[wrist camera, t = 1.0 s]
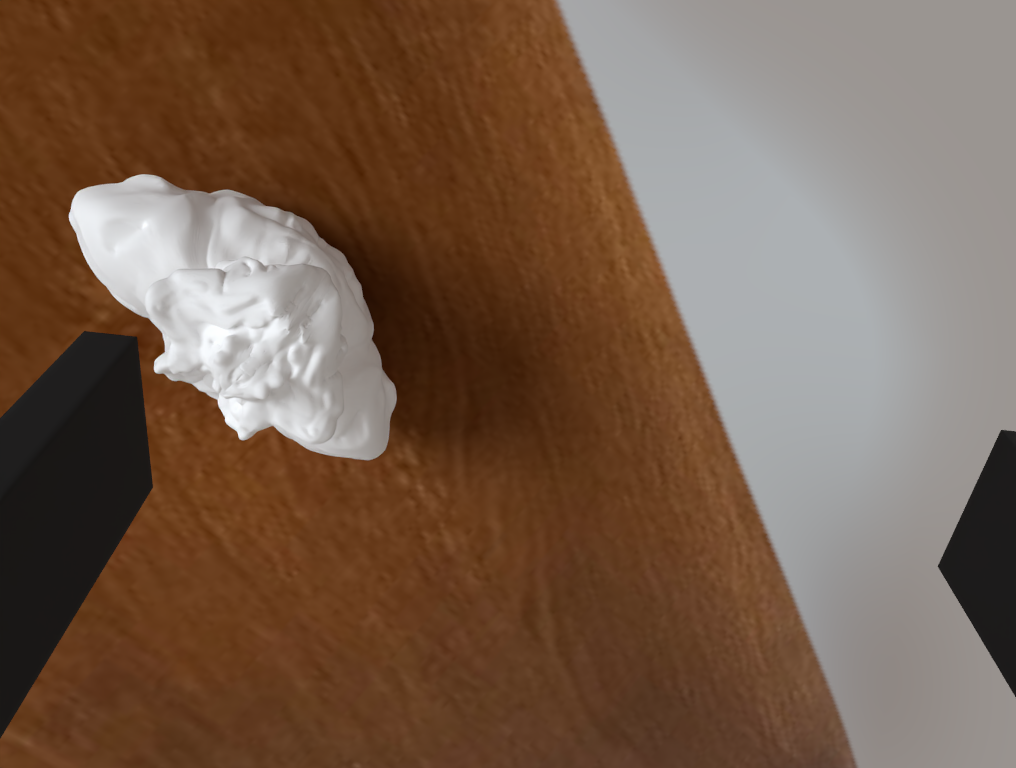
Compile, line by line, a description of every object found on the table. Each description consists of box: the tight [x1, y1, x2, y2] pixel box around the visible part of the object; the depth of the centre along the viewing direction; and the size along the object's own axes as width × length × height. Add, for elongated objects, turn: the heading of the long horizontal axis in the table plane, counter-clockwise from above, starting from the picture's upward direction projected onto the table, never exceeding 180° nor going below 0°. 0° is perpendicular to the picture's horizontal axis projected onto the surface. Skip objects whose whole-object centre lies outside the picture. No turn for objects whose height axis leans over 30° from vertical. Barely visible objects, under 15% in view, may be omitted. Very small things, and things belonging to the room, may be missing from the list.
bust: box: [69, 174, 397, 460], centre depth 27 cm, size 12×8×11 cm
